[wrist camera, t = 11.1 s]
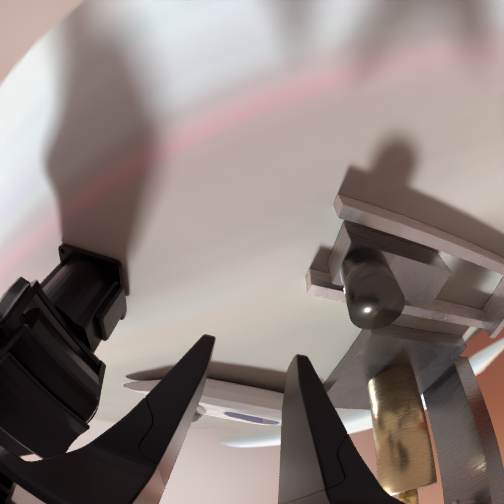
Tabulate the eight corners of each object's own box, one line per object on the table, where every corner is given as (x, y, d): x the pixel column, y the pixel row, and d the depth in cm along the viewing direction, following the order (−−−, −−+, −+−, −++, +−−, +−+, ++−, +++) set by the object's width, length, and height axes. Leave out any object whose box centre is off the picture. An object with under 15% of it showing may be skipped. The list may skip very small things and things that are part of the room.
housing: (361, 379, 23) (372, 514, 12) (410, 360, 22) (437, 495, 10) (374, 398, 25) (385, 513, 14) (417, 382, 23) (439, 497, 12)
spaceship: (321, 377, 26) (323, 416, 22) (315, 406, 29) (315, 439, 25) (113, 360, 29) (99, 390, 25) (133, 389, 32) (122, 416, 28)
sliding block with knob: (327, 261, 19) (339, 324, 14) (343, 222, 17) (365, 279, 12) (419, 284, 19) (447, 341, 14) (437, 252, 18) (474, 306, 12)
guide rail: (305, 277, 20) (308, 306, 17) (337, 194, 16) (347, 213, 14) (482, 317, 20) (494, 338, 18) (516, 264, 17) (533, 283, 14)
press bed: (315, 394, 28) (310, 575, 10) (368, 321, 21) (400, 585, 4) (423, 399, 28) (445, 539, 10) (482, 338, 22) (536, 503, 4)
